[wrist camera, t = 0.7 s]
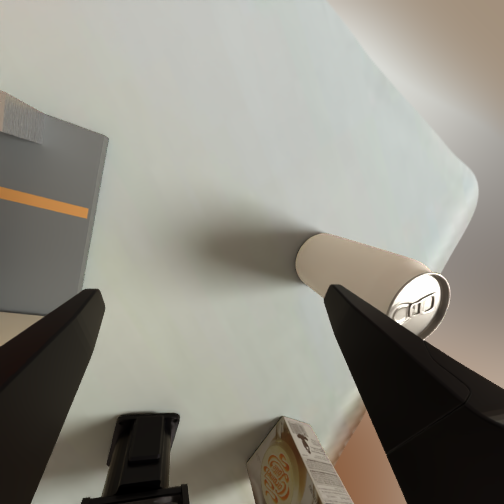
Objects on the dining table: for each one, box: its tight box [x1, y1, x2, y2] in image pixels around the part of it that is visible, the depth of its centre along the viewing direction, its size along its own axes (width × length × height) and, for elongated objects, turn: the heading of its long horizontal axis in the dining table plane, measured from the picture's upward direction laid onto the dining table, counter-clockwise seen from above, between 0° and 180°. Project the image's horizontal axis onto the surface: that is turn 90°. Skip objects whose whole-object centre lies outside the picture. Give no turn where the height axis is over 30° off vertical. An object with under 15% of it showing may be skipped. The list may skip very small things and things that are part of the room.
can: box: [295, 233, 450, 340], centre depth 20 cm, size 6×6×12 cm
